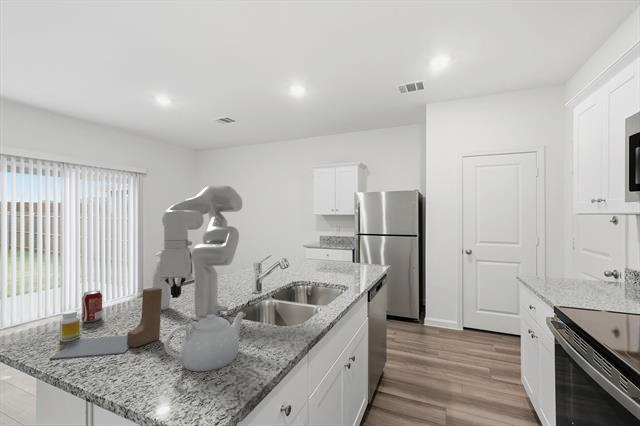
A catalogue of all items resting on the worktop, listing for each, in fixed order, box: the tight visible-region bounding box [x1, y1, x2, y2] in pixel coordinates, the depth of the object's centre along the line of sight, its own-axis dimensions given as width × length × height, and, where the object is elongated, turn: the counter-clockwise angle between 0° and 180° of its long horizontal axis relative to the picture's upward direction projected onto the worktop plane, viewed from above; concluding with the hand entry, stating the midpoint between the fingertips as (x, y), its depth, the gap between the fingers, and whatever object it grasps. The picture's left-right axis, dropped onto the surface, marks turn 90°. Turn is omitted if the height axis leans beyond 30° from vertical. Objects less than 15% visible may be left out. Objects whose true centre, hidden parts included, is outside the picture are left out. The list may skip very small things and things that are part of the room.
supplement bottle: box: [59, 309, 81, 343], centre depth 105 cm, size 5×5×10 cm
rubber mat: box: [49, 335, 132, 361], centre depth 99 cm, size 21×14×1 cm, turn 100°
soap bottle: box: [152, 251, 171, 311], centre depth 140 cm, size 14×8×27 cm, turn 48°
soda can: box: [81, 289, 103, 323], centre depth 124 cm, size 7×7×12 cm
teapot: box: [164, 311, 247, 372], centre depth 90 cm, size 19×18×14 cm
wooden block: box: [126, 287, 162, 348], centre depth 102 cm, size 9×4×18 cm, turn 152°
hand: (176, 296), depth 103 cm, fingers closed
